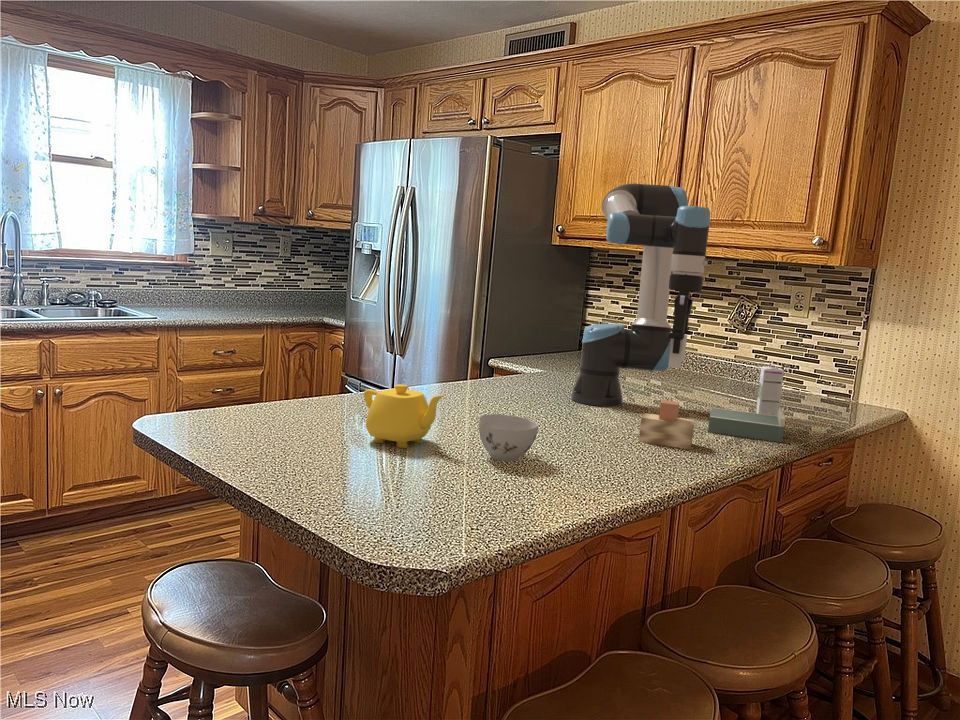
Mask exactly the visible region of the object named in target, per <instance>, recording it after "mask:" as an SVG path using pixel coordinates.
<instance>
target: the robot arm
mask: <svg viewBox="0 0 960 720" xmlns="http://www.w3.org/2000/svg"><path fill="white" fill-rule="evenodd" d="M601 210H602V214H603V216H604V217H605V218H606V220H607V222H606V231H605V232H606V233H605V236H606V238H605V239H606V241H607V243H610V244H617V245H619V246H622V245H626V246H627V245H628V246H642V247H643V249H642V250H643V252H642V253H643V254H642V260H641V261H642V262H641V273H640V281H639V282H640V284H639V291H638V293H639V295H638V302H637V303H638V305H637V314H636V318H635V320H633V322H631V324H630V329H627V328H625V326H624V324H622V323H600V324H597V323H596V324H591V325H587V326H585V328H584V330H583V336H582V340H581V343H582V346H581V356H580V365H579V373H578V376H577V378H576V381H575V383H574V386H573V389H572V390H571V396H570V398H571V400H572V401H574V402H576V403H580V404H583V405H584V404H585V405H589V406H596V407H597V406H598V407H619V406H622V405H623V397H624V396H623V392H622V388H621V383H620V369H622V370H633V371H634V370H635V371H647V372H651V373H652V372H664V371H667V370H668V369H669V368H671V369H672V368H673V369H681V367H682V362H685V359H686V349H687V341H688V336H689V335H691V330H689V321H690V315H691V312H692V307H693V303H694V302H693V301H694V299H692V294H691V293H701V292H702V290H703V282H704V278H703V276H702V275H703V274H704V273H705V266H707V265H708V263H709V262H708V261H707V260H706V256H707V248H708V247H707V246H708V240H709V239H708V238H709V232H710V226H711V210H710V209H709V207H705V206H698V205H697V206H696V205H689V200H688V195H687V192H686V191H685V189H684V188H682V187H681V186H680V187H679V186H673V185H670V184H669V185H664V184H663V185H662V184H647V183H634V182H633V183H625V184H622V185H619V186H616V187H614V188H612V189H611V190H609V191H608V192H607V193H606V195H605V196H604V198H603V200H602V204H601ZM701 274H702V275H701ZM671 290H672V291H678V294H677V296H676V297H675V298H674V303H673V304H674V305H673V306H674V309H673V315H674V316H673V323H672V326H671V324H669V322H668V321H667V319H668V312H669V311H668V309H669V300H670V291H671Z"/></svg>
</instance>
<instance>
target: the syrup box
mask: <svg viewBox="0 0 960 720" xmlns="http://www.w3.org/2000/svg"><path fill="white" fill-rule="evenodd" d="M784 373H785V370H784V369H782V368H781V367H776V366H763V365H762V366H761V367H760V373H759V374H760V376H759V381H758V382H759V383H758V391H757V392H758V393H757V400H756V401H757V402H756V408H755V409H756V410H755V413H758V414H766V415H773V416H777V415H778V409H781V402H782V401H781V399H782V392H783V391H782V390H783V383H784V381H783V380H784Z"/></svg>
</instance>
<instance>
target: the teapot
mask: <svg viewBox="0 0 960 720" xmlns="http://www.w3.org/2000/svg"><path fill="white" fill-rule="evenodd" d="M408 387H409V385H407V384H401V383H399V384H394V388H388V389H382V390H380V391H379V390H376V389H371V388H369V389H365V390H364V392H363V397H364V402H365V404H366V406H367V408H368V412H367V416H366V421H365V428H366V431H367V432H368V434H369V435H370V436H372V437H374V438H373V440H372V442H373V443H375V444H382V443H383V444H384V442H385V441H390V442H396V448H399V449H407V448H409V444H408V442H413V443H423V442H424V440H423V438H424V437H425V436H427V434H428V433H429V431H431V427H432V425H433V423H434V422H435V420H436V416H437V406H438V403H439V401H440V400H441V399H442V398H444V397H445V395H444V394H442V395H434V396H433V397H431V398H430V400H429V403H428V401H427V398H426V396H425V394H424V392H422V391H418V390H413V389H408ZM373 396H374V398H373Z"/></svg>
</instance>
